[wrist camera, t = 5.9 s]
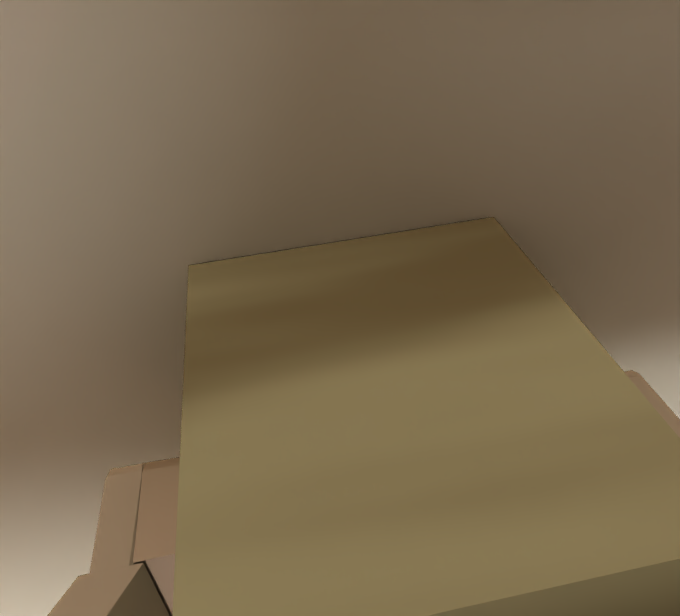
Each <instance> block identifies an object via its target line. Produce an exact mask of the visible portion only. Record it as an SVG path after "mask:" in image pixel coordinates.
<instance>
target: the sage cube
mask: <svg viewBox="0 0 680 616" xmlns="http://www.w3.org/2000/svg"><path fill="white" fill-rule="evenodd" d="M172 616H680V438H679V437H678V435H677V434H676V433H675V432H674V431H673V430H672V428H671V427H670V426H669V425H668V424H667V422H666V421H665V420H664V419H663V418H662V416H661V415H660V414H659V413H658V412H657V411H656V409H655V408H654V407H653V406H652V405H651V403H650V402H649V401H648V400H647V399H646V397H645V396H644V395H643V394H642V393H641V392H640V390H639V389H638V388H637V387H636V386H635V384H634V383H633V382H632V381H631V380H630V378H629V377H628V376H627V375H626V374H625V373H624V371H623V370H622V369H621V368H620V367H619V365H618V364H617V363H616V362H615V361H614V359H613V358H612V357H611V356H610V355H609V354H608V352H607V351H606V350H605V349H604V348H603V346H602V345H601V344H600V343H599V342H598V340H597V339H596V338H595V337H594V336H593V335H592V333H591V332H590V331H589V330H588V329H587V327H586V326H585V325H584V324H583V323H582V321H581V320H580V319H579V318H578V317H577V316H576V314H575V313H574V312H573V311H572V310H571V308H570V307H569V306H568V305H567V304H566V302H565V301H564V300H563V299H562V298H561V297H560V295H559V294H558V293H557V292H556V291H555V289H554V288H553V287H552V286H551V285H550V283H549V282H548V281H547V280H546V279H545V278H544V276H543V275H542V274H541V273H540V272H539V270H538V269H537V268H536V267H535V266H534V264H533V263H532V262H531V261H530V260H529V259H528V257H527V256H526V255H525V254H524V253H523V251H522V250H521V249H520V248H519V247H518V245H517V244H516V243H515V242H514V241H513V240H512V238H511V237H510V236H509V235H508V234H507V232H506V231H505V230H504V229H503V228H502V226H501V225H500V224H499V223H498V222H497V221H496V219H495V218H494V217H490V218H484V219H478V220H471V221H465V222H459V223H453V224H446V225H440V226H434V227H427V228H421V229H415V230H409V231H402V232H396V233H390V234H384V235H377V236H371V237H365V238H358V239H352V240H346V241H340V242H333V243H327V244H321V245H315V246H308V247H302V248H296V249H289V250H283V251H277V252H271V253H264V254H258V255H252V256H245V257H239V258H233V259H227V260H220V261H214V262H208V263H202V264H195V265H189V266H188V287H187V309H186V331H185V352H184V374H183V396H182V418H181V440H180V462H179V483H178V505H177V527H176V549H175V571H174V593H173V614H172Z"/></svg>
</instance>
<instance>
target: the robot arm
mask: <svg viewBox="0 0 680 616" xmlns="http://www.w3.org/2000/svg"><path fill="white" fill-rule="evenodd" d="M624 373H625V374H626V375H627V376H628V377H629V378H630V380H631V381H632V382H633V383H634V384H635V386H636V387H637V388H638V389H639V390H640V392H641V393H642V394H643V395H644V396H645V397H646V399H647V400H648V401H649V402H650V403H651V405H652V406H653V407H654V408H655V409H656V411H657V412H658V413H659V414H660V415H661V416H662V418H663V419H664V420H665V421H666V422H667V424H668V425H669V426H670V427H671V428H672V430H673V431H674V432H675V433H676V434H677V435H678V437H679V438H680V419H679V418H678V417H677V416H676V415H675V414H674V412H673V411H672V410H671V409H670V408H669V407H668V406H667V405H666V403H665V402H664V401H663V400H662V399H661V398H660V397H659V395H658V394H657V393H656V392H655V391H654V390H653V389H652V388H651V386H650V385H649V384H648V383H647V382H646V381H645V380H644V378H643V377H642V376H641V375H640V374H638V373H637V372H635V371H633V370H630V371H624ZM179 462H180V457H176V458H170V459H164V460H158V461H152V462H146V463H142V464H136V465H131V466H125V467H119V468H113V469H111V470H110V472H109V474H108V475H107V477H106V479H105V485H104V491H103V496H102V502H101V508H100V514H99V520H98V526H97V532H96V538H95V543H94V549H93V555H92V561H91V567H90V573H89V574H85V575H80V576H78V577H77V578H76V580H75V581H74V582H73V583H72V585H71V586H70V587H69V589H68V590H67V591H66V592H65V594H64V595H63V596H62V597H61V599H60V600H59V601H58V603H57V604H56V605H55V606H54V608H53V609H52V610H51V612H50V613H49V614H48V615H47V616H172V614H173V593H174V571H175V549H176V527H177V505H178V483H179Z"/></svg>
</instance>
